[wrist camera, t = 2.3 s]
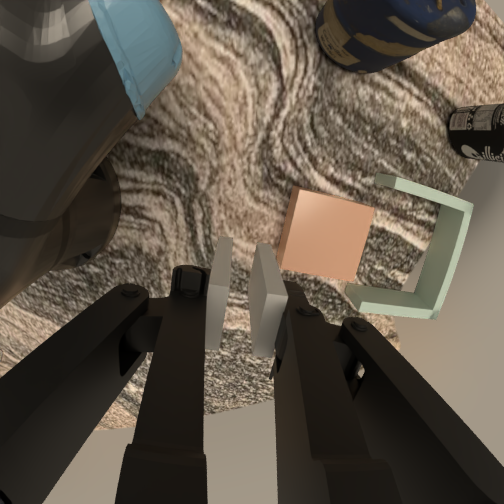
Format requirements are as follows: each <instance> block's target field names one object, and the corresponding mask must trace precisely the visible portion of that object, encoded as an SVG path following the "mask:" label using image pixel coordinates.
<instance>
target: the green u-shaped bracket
mask: <svg viewBox="0 0 504 504" xmlns="http://www.w3.org/2000/svg"><path fill="white" fill-rule="evenodd" d="M374 183H375V184H379V185H382V186H386V187H389V188H393V189H396V190H399V191H403V192H406V193H409V194H412V195H415V196H419V197H422V198H425V199H428V200H431V201H434V202H437V203H440V204H441V206H440V210H439V214H438V218H437V222H436V225H435V229H434V232H433V236H432V239H431V243H430V246H429V250H428V253H427V256H426V259H425V263H424V265H423V268H422V272H421V275H420V277H419V280H418V283H417V286H416V289H415V292H414V293H411V292H404V291H397V290H391V289H384V288H377V287H371V286H364V285H357V284H351V283H347V286H346V290H345V293H346V295H347V296H348V297H349V299H350V300H351V302H352V303H353V304H354V306H355V307H356V309H357V310H358V312H366V313H375V314H384V315H393V316H403V317H413V318H423V319H435V320H436V319H437V317H438V314H439V312H440V309H441V307H442V304H443V302H444V299H445V296H446V294H447V291H448V289H449V286H450V283H451V280H452V277H453V275H454V272H455V269H456V266H457V262H458V260H459V256H460V253H461V250H462V247H463V244H464V240H465V237H466V233H467V230H468V226H469V222H470V218H471V214H472V210H473V206H474V204H472V203H469V202H467V201H464V200H462V199H459V198H457V197H454V196H451V195H449V194H446V193H443V192H440V191H438V190H435V189H432V188H429V187H426V186H423V185H421V184H418V183H415V182H412V181H409V180H406V179H402V178H399V177H396V176H391V175H385V174H380V173H376V177H375V181H374Z"/></svg>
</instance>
